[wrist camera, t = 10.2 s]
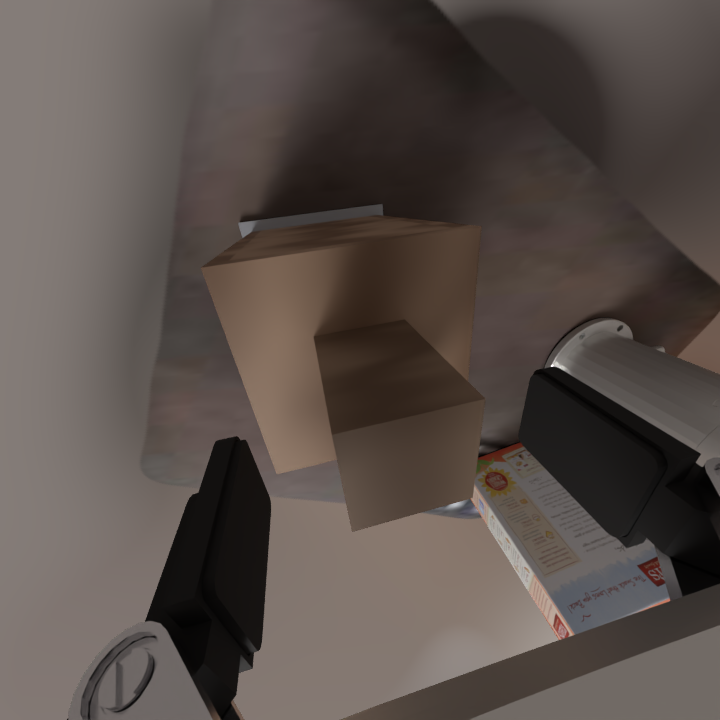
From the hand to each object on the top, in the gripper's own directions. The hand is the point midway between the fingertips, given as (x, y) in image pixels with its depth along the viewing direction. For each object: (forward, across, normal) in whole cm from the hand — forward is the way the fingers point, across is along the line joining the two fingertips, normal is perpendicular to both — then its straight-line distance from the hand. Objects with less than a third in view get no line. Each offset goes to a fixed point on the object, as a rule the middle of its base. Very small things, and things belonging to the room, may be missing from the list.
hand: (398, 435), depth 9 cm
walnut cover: (+20, 0, 0) cm, 20 cm away
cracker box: (+22, -23, +32) cm, 45 cm away
